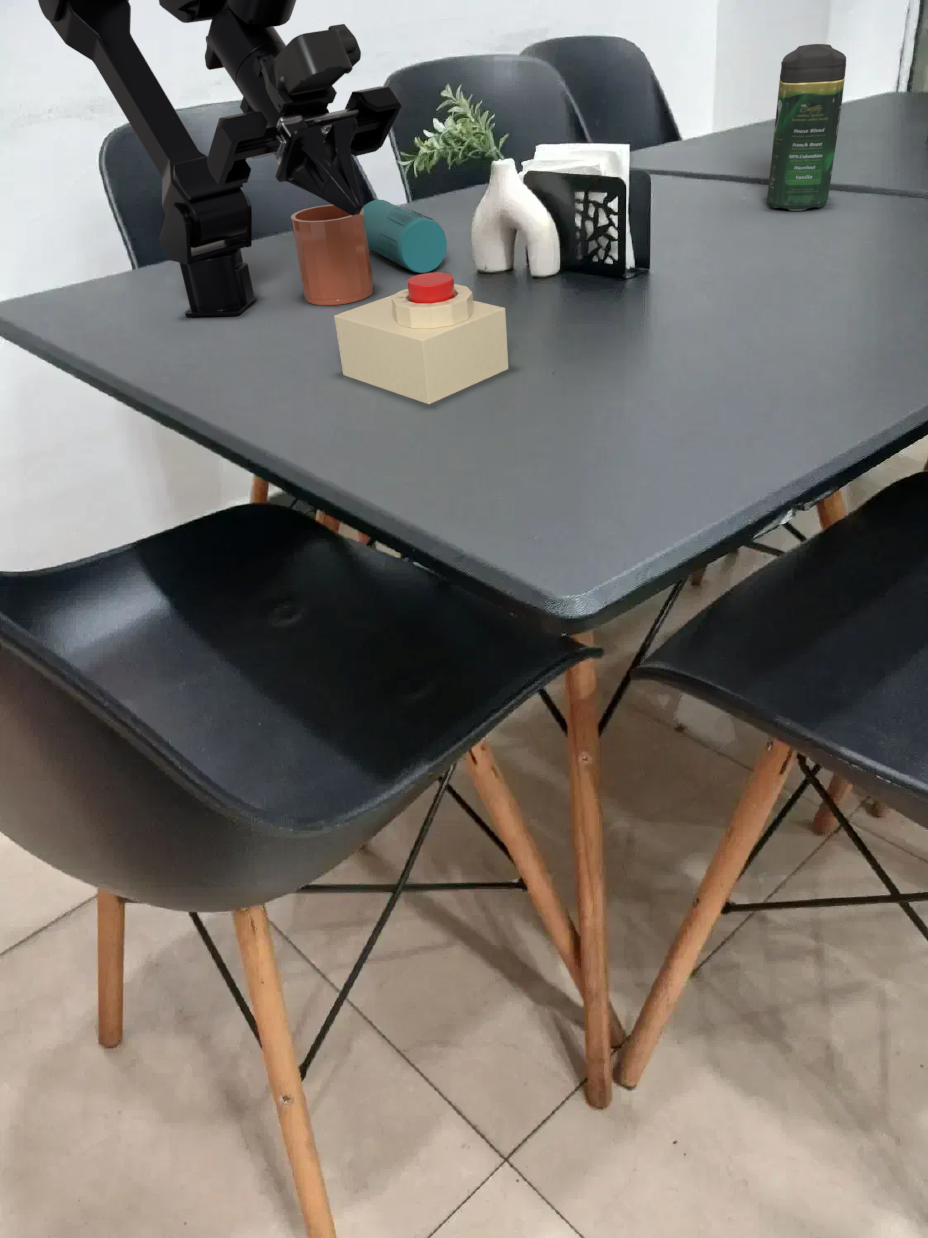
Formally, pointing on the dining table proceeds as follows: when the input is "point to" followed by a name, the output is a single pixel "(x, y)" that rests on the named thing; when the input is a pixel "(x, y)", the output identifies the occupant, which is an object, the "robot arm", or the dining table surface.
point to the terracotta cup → (332, 255)
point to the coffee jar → (806, 127)
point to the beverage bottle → (404, 236)
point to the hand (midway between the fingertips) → (358, 211)
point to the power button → (431, 288)
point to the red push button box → (423, 344)
